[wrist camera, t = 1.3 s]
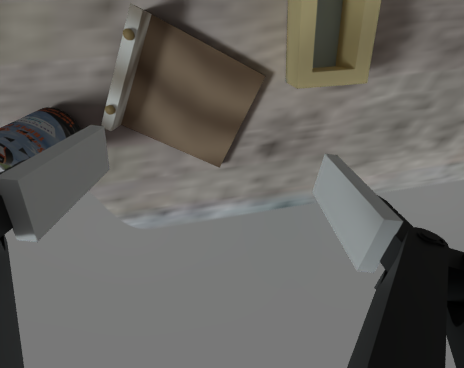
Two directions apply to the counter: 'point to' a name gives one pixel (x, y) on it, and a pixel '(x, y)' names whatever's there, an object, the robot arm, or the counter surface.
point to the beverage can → (34, 135)
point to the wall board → (178, 89)
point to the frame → (330, 41)
